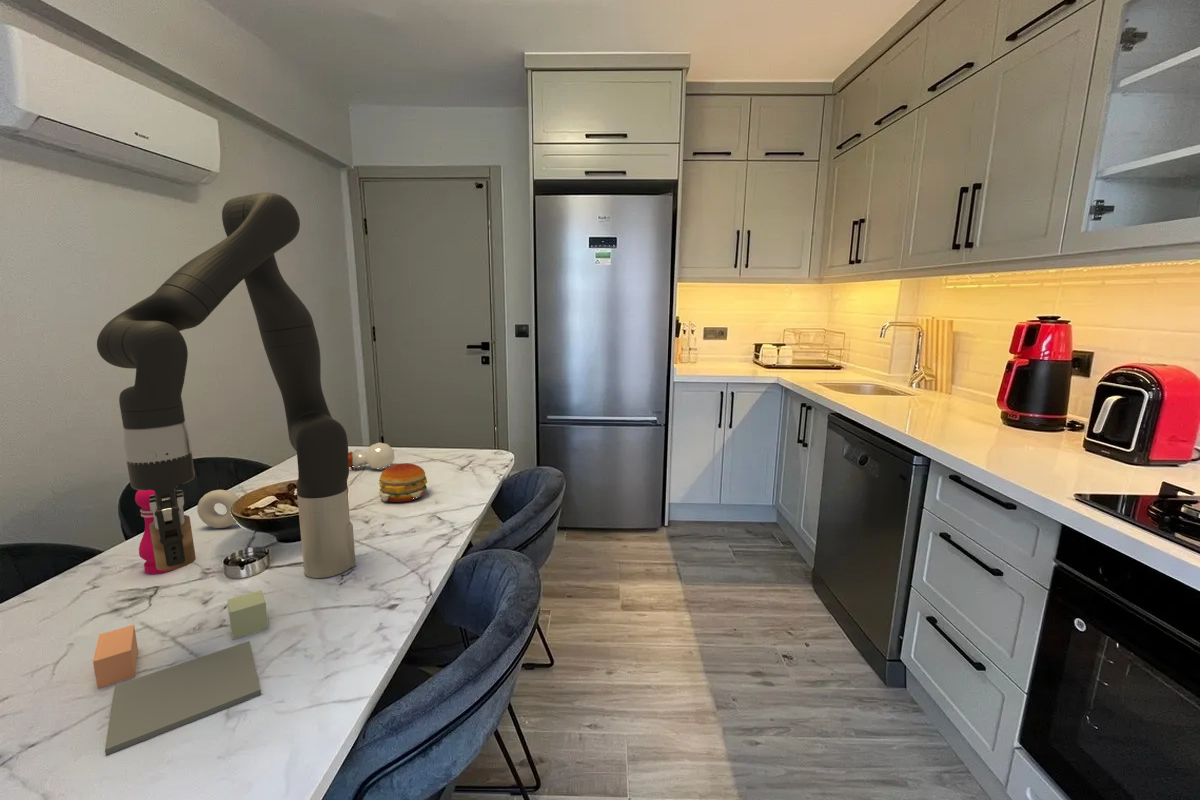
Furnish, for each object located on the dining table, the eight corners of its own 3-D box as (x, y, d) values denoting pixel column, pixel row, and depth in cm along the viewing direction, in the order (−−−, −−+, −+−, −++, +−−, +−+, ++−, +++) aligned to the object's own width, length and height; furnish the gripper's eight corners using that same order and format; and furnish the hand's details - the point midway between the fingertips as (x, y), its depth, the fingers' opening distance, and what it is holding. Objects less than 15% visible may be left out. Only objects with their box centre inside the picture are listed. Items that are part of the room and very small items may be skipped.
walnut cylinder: (195, 552, 83) (189, 512, 82) (196, 563, 79) (190, 521, 78) (156, 562, 80) (149, 520, 79) (156, 573, 76) (149, 530, 75)
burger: (437, 495, 152) (435, 463, 150) (398, 509, 141) (396, 474, 139) (408, 486, 159) (406, 456, 157) (369, 499, 148) (366, 466, 146)
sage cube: (264, 615, 91) (261, 589, 90) (268, 628, 87) (265, 602, 86) (230, 626, 88) (227, 599, 87) (233, 640, 84) (229, 612, 83)
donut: (196, 531, 125) (191, 493, 123) (205, 525, 128) (200, 488, 126) (240, 529, 126) (236, 491, 125) (248, 524, 130) (243, 486, 128)
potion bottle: (396, 473, 176) (352, 479, 175) (400, 451, 183) (357, 457, 182) (387, 457, 170) (341, 463, 168) (391, 435, 176) (347, 440, 175)
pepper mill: (160, 577, 103) (147, 483, 100) (132, 573, 105) (118, 481, 101) (195, 560, 110) (183, 473, 107) (168, 557, 112) (156, 470, 108)
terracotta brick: (103, 660, 79) (99, 634, 78) (138, 649, 81) (134, 624, 81) (97, 689, 73) (92, 661, 72) (135, 677, 75) (130, 650, 75)
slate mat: (249, 645, 83) (249, 640, 82) (261, 694, 72) (260, 689, 72) (115, 690, 72) (114, 685, 72) (105, 755, 62) (104, 749, 62)
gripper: (193, 459, 74) (209, 567, 77) (189, 440, 84) (203, 535, 87) (123, 469, 69) (142, 584, 72) (128, 448, 79) (145, 548, 82)
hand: (176, 557), depth 79 cm, fingers closed on walnut cylinder, 4 cm apart
